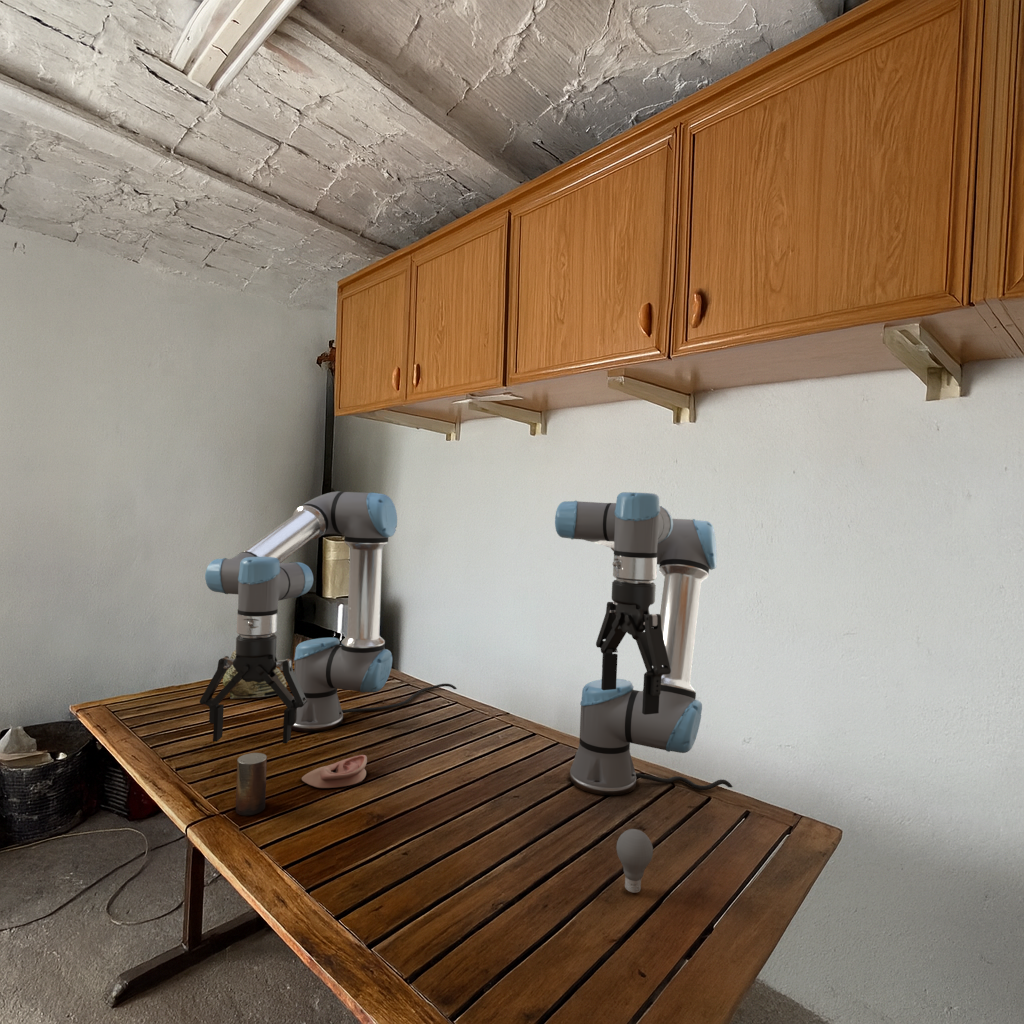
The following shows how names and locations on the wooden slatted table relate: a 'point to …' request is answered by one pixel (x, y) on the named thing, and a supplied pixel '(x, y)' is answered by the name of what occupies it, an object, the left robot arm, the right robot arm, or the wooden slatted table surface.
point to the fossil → (250, 684)
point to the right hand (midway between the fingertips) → (628, 700)
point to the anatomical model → (338, 773)
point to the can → (251, 784)
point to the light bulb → (634, 857)
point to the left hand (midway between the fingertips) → (252, 740)
